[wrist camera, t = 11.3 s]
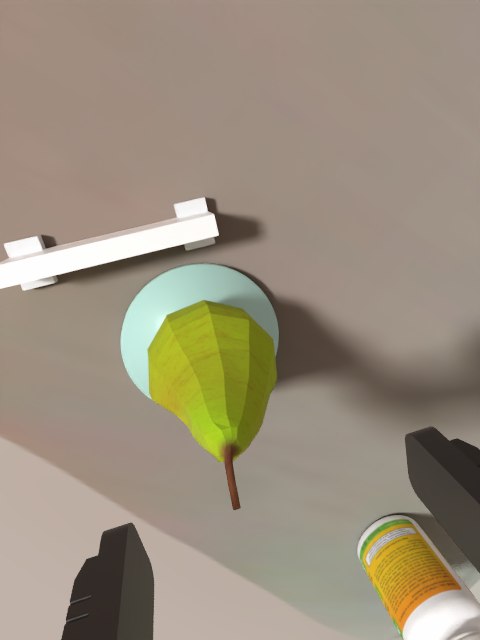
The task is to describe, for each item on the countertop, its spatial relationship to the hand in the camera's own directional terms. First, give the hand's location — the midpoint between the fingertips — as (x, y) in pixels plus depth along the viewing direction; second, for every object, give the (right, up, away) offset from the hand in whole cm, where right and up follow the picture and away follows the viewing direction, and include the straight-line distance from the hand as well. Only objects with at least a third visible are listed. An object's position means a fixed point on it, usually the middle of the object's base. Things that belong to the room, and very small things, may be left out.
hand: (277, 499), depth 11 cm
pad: (-3, +4, +12) cm, 13 cm away
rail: (-8, +9, +10) cm, 15 cm away
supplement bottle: (+10, -12, +20) cm, 26 cm away
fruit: (-3, +4, +12) cm, 13 cm away
